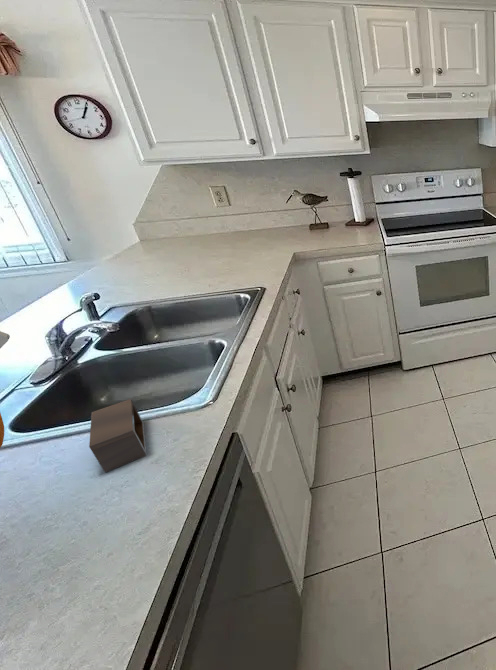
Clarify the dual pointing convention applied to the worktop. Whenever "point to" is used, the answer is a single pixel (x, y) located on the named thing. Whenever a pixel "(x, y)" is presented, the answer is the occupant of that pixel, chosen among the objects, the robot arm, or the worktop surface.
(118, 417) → the shelf
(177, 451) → the worktop surface
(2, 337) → the robot arm
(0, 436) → the carrot
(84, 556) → the worktop surface
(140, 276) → the worktop surface
